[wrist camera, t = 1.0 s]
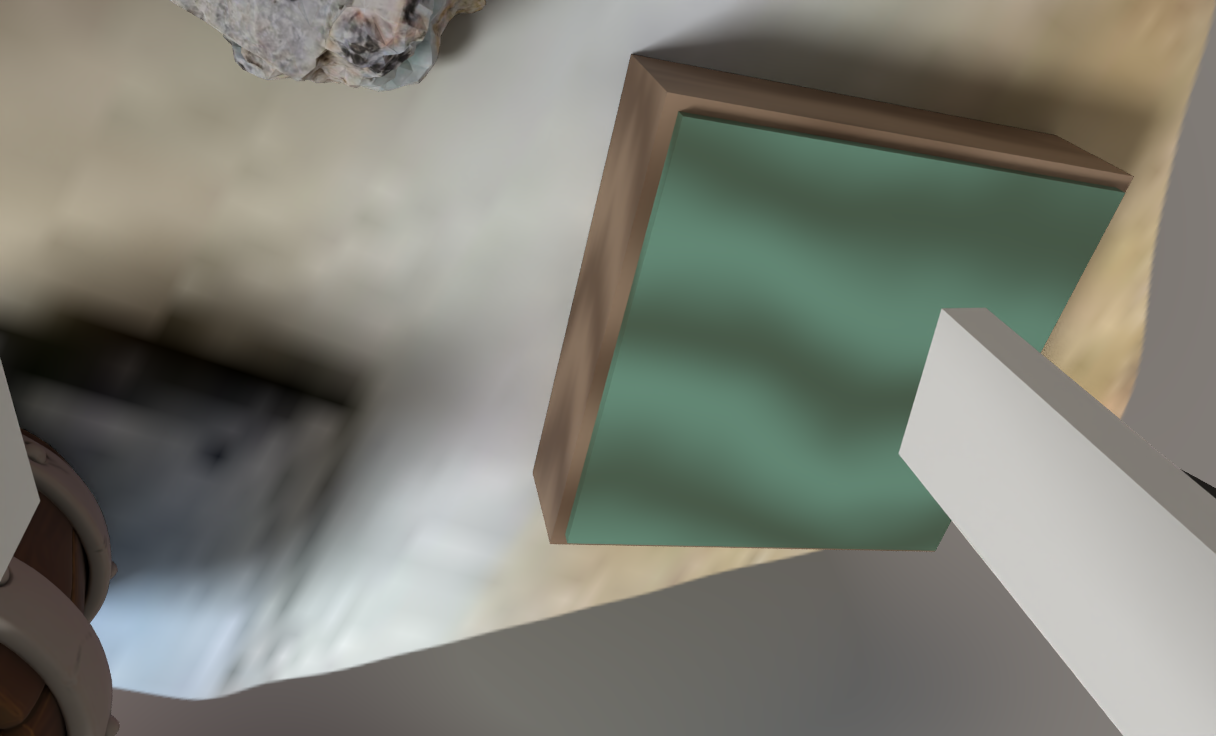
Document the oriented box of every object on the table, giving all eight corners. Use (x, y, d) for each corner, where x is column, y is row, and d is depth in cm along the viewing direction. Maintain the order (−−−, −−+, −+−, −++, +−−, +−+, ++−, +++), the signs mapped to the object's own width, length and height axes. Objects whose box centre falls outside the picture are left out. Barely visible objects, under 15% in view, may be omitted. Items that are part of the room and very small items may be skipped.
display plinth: (630, 53, 31) (671, 96, 27) (1056, 135, 37) (1143, 181, 33) (532, 472, 40) (552, 552, 36) (888, 488, 46) (940, 559, 42)
